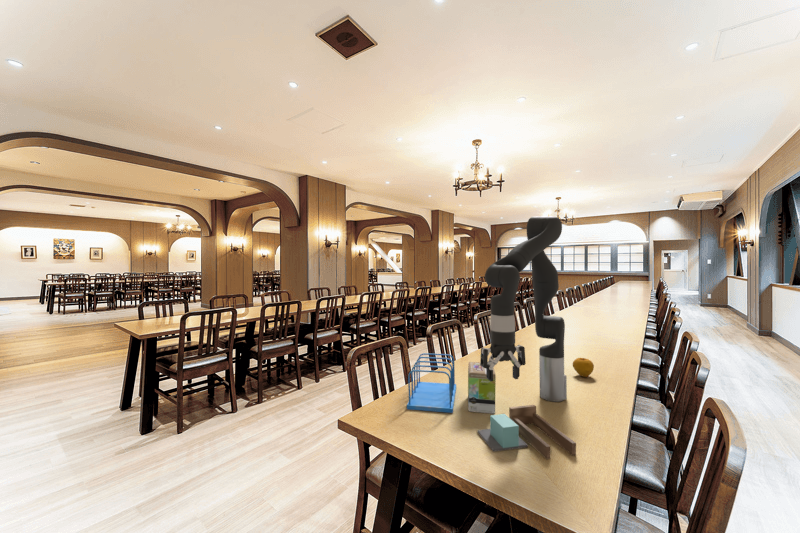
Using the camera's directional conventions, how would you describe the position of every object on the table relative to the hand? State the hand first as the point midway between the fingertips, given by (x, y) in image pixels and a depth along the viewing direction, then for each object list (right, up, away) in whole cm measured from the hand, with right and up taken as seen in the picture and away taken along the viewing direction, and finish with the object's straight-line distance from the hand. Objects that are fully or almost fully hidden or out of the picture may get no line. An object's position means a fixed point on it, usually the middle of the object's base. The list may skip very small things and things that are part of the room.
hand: (503, 379), depth 103 cm
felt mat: (-1, -18, -1) cm, 18 cm away
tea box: (-1, -19, +24) cm, 30 cm away
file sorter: (-19, -19, +31) cm, 41 cm away
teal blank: (-1, -18, -3) cm, 18 cm away
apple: (+56, -18, +55) cm, 81 cm away
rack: (+11, -18, -1) cm, 21 cm away
